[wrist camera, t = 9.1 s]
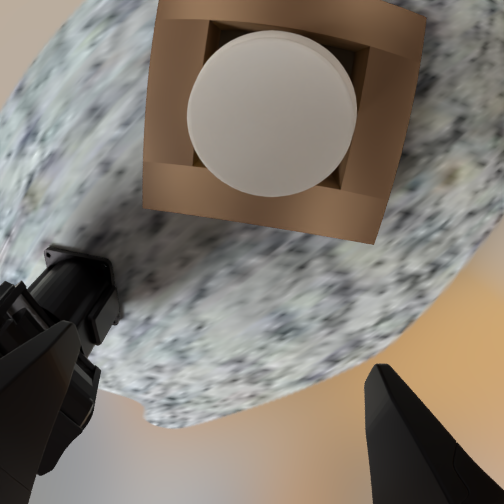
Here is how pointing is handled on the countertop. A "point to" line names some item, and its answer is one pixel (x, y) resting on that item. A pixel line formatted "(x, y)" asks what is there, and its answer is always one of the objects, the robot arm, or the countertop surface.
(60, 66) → the countertop surface
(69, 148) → the countertop surface
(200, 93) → the supplement bottle
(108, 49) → the countertop surface
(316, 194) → the socket block
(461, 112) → the countertop surface
